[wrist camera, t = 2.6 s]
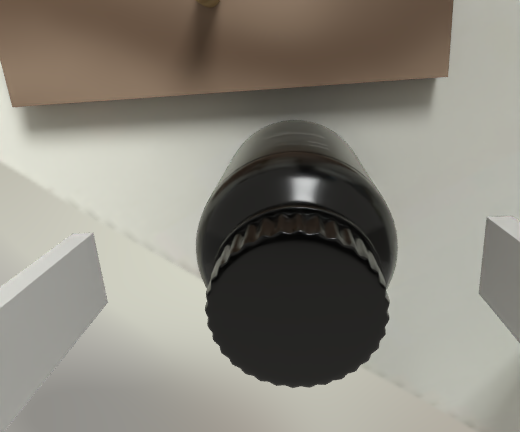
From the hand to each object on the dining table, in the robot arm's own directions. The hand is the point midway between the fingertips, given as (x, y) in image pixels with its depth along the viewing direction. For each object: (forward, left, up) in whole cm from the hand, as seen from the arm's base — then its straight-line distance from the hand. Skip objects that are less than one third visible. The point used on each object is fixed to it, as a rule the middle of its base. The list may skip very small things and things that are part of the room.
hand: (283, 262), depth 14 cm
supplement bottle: (0, 0, -9) cm, 9 cm away
